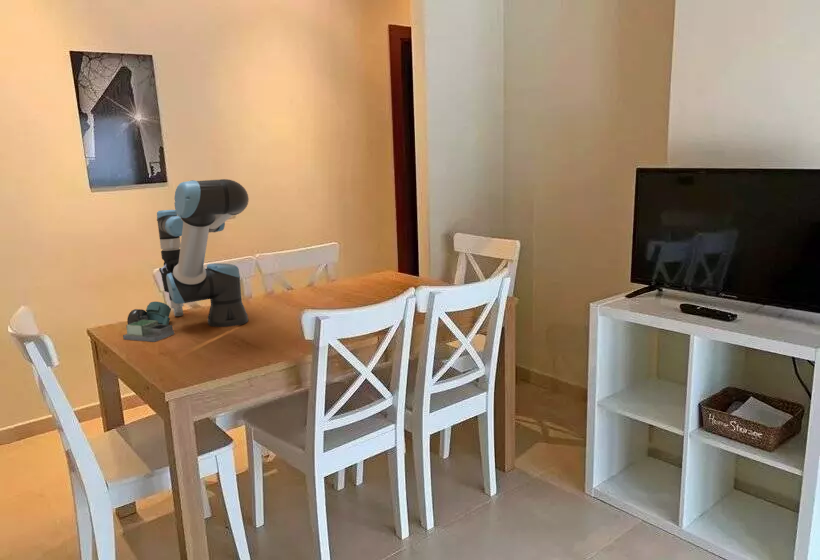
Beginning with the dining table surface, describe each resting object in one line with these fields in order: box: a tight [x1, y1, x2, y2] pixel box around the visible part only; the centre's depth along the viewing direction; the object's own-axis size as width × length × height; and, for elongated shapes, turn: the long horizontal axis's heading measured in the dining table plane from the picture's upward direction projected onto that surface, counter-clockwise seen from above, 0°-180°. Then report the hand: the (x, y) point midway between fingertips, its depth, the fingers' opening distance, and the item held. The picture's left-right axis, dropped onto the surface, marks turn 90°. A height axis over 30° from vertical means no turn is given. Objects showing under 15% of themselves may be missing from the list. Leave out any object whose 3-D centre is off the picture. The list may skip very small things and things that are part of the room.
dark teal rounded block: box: [145, 301, 172, 325], centre depth 245 cm, size 9×9×9 cm
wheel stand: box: [127, 308, 149, 325], centre depth 238 cm, size 6×8×8 cm
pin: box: [172, 303, 184, 317], centre depth 257 cm, size 4×4×12 cm
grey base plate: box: [122, 320, 175, 343], centre depth 231 cm, size 14×10×5 cm
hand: (177, 307), depth 257 cm, fingers closed on pin, 3 cm apart
